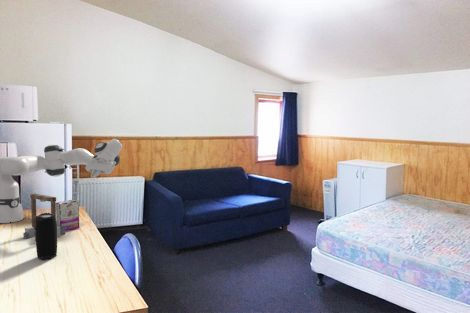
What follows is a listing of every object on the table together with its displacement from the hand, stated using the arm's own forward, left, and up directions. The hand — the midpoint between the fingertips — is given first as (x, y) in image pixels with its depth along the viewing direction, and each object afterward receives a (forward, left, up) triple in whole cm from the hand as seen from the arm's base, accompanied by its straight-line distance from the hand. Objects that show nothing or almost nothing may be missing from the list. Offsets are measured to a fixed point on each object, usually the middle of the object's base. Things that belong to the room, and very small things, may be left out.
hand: (92, 177), depth 220 cm
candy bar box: (+2, -19, -28) cm, 34 cm away
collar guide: (+2, -33, -27) cm, 43 cm away
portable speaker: (+30, -51, -28) cm, 66 cm away
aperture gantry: (+2, -34, -27) cm, 44 cm away
